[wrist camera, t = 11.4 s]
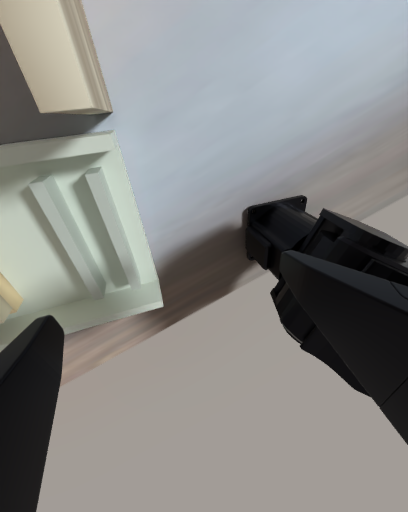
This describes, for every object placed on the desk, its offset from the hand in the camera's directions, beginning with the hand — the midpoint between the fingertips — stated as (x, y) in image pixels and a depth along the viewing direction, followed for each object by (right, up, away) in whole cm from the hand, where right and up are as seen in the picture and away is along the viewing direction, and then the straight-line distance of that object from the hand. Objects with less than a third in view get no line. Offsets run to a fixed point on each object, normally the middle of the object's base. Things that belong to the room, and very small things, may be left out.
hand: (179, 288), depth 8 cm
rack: (-13, +2, +9) cm, 16 cm away
